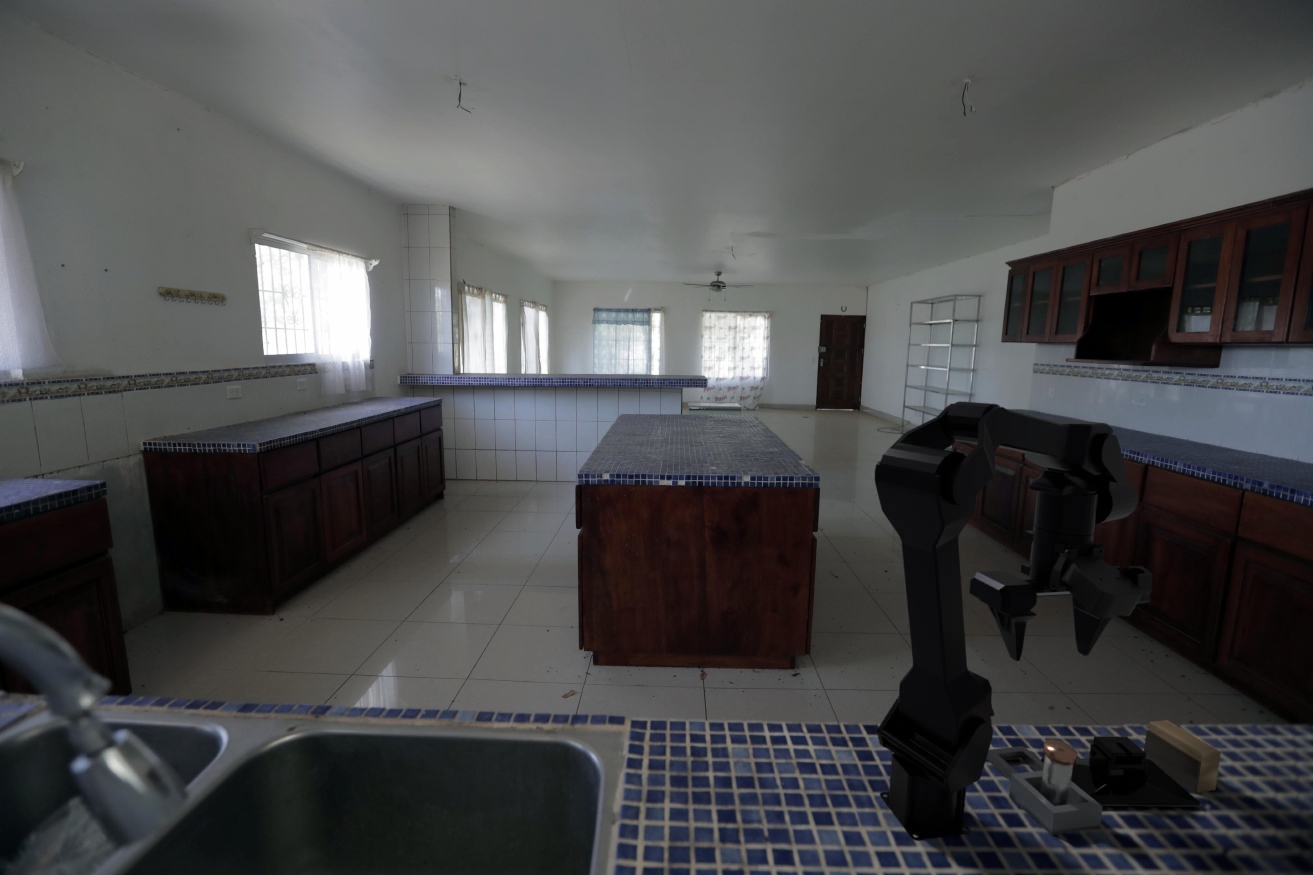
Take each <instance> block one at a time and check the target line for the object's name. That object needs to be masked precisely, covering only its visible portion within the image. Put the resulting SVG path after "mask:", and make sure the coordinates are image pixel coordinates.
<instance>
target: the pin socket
mask: <svg viewBox="0 0 1313 875" xmlns="http://www.w3.org/2000/svg"><path fill="white" fill-rule="evenodd" d="M1013 760H1022V761H1024V762H1025V763H1026V764H1027V765H1028V766H1029V767H1031V769H1033V771H1043V768H1044V763H1043V762H1042V761H1041V759H1039V757H1037V756H1036V755H1035V754H1033V753H1032V752H1031V751H1030V750H1029V749H1028V748H1026V747H1025V746H1023V745H1022V746H1021V745H1020V746H1013V747H1001V748H994V749H989V751H988V754H987V758H986V761H988V762H989V763H990V764H992V765H993V767H994V768H995V769H997V770H998V771H999V772H1000V773H1001V774H1002V775H1003V776H1004V777H1005V778H1006V779H1007V780H1009V782H1011V774H1017V773H1019V772H1018V771H1017V770H1016V769H1015V768H1013V766H1011V765H1010V764H1009V762H1007V761H1013Z"/></svg>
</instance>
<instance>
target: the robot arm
mask: <svg viewBox="0 0 1313 875" xmlns="http://www.w3.org/2000/svg"><path fill="white" fill-rule="evenodd" d="M956 442H960V443H966V444H967V443H968V444H974V445H975V444H976V445H975V446H974V448H973V449H972V450H971V451H970V452H969V453H968V454H967V455H965V454H964V453H963V452H959V451H954V450H948V449H947V448H950V447H952V446H953V445H954V444H955V443H956ZM998 448H999V449H1004V450H1010V451H1014V452H1018V453H1021V454H1024V458H1025V459H1026V460H1028V461H1029V462H1031V463H1033V464H1035V465H1036V466H1038V467H1042V468H1043V469H1044V471H1043V472H1042V474H1040V475H1039V476H1038V477H1037V478H1035V479H1033V481H1031V483H1030V484H1029V486H1028V489H1029V491H1032V492H1036V500H1035V501H1036V502H1035V511H1034V520H1033V529H1032V530H1024V534H1023V540H1025V541H1028V542H1030V543H1031V548H1030V549H1031V550H1030V557H1029V563H1021V565H1020V573H1021V574H1023V575H1027V576H1028V579H1021V578H1020V577H1017V576H1015V575H1013V574H1011V573H1009V572H1007V571H1005V570H991V571H990V570H989V571H988V570H987V571H977V572H975V573H974V574H973V575H971V576H970V581H969V591H968V593H969V594H970V595H971V596H974V597H975V598H977V599H978V601H980V602H982V603H984V604H985V605H987V607H988V609H989V612H990V613H991V615H992V617H993V619H994V620H995V624H996V625H997V627H998V630H999V633H1000V636H1001V637H1002V640H1003V643H1004V645H1005V647H1006V650H1007V653H1008V654H1009V655H1008V656H1009V657H1010V658H1011V659H1012V660H1013V661H1015V662H1020V661H1021V657H1022V654H1023V650H1024V649H1023V648H1024V642H1025V635H1026V630H1027V629H1026V628H1027V623H1028V622H1029V621H1030V620H1032V619H1033V618H1035V617H1036V616H1037V615H1038V614H1037V613H1036V612H1034V611H1032V610H1033V608H1034V607H1035V606H1036V605H1037V603H1038V602H1037V600H1038V597H1054V596H1055V597H1056V596H1071V597H1072V598H1071V600H1072V607H1073V608H1072V609H1073V610H1072V612H1073V621H1074V624H1073V626H1074V639H1075V643H1076V648H1077V652H1078V654H1080V655H1082V656H1085V657H1087V656H1089V654H1090V653H1091V652H1092V650H1093V648H1094V647H1095V644H1096V643H1097V641H1098V640H1099V639H1100V637H1101V635H1102V633H1103V631H1104V630H1105V629H1106V628H1107V626H1108V624H1109V623H1110V621H1112V619H1113V618H1114V617H1116V616H1122V617H1130V616H1131V614H1132V613H1133V611H1134V610H1135V608H1136V606H1138V605H1145V604H1146V603H1150V602H1151V599H1152V598H1151V594H1152V591H1153V573H1152V572H1151V571H1149V570H1148V569H1146V568H1145V567H1144V566H1142V565H1133V566H1132V565H1131V566H1126V567H1124V568H1122V567H1121V566H1120V565H1112V564H1109V563H1107V562H1106V561H1105V558H1104V555H1105V554H1104V552H1105V549H1104V548H1103V543H1100V542H1098V541H1094V535H1095V534H1094V533H1095V527H1096V526H1095V525H1097V524H1102V523H1105V522H1106V523H1107V522H1111V521H1112V522H1113V521H1115V520H1120V519H1124V518H1127V517H1129V516H1130V515H1131V514H1133V513H1134V512H1135V510H1136V508H1137V506H1138V503H1139V495H1138V492H1137V490H1136V487H1135V486H1134V484H1133V483H1132V482H1131V481H1130V480H1129V475H1128V472H1127V467H1126V464H1125V460H1124V457H1123V453H1122V450H1121V446H1120V443H1119V439H1118V437H1117V436H1116V434H1114V429H1113V428H1112V426H1110V424H1108V423H1106V422H1094V421H1086V420H1085V421H1083V420H1074V419H1073V420H1071V419H1062V418H1061V419H1060V418H1051V417H1049V418H1047V417H1046V418H1045V417H1044V418H1040V417H1037V416H1032V415H1029V414H1026V413H1021V412H1018V411H1014V410H1009V409H1007V408H1005V407H1003V406H1000V405H999V404H997V403H990V402H989V403H988V402H975V401H961V400H960V401H956V402H955V403H950V404H949V405H947V406H946V407H945V408H944V409H943V410H942V411H941V412H940V413H939V414H938V415H937V416H936V417H934V418H932V419H930V420H928V421H925V422H923V423H922V424H920V425H918V426H916V427H913V428H911V429H910V430H908V431H906V432H904V433H903V434H902V435H901V436H900V437H899V438H898V439H897V440H896V441H895V442H894V443H893V444H892V445H891V446H890V447H888V448H887V450H886V452H884V453H883V454H882V455H881V456H880V458H879V459H878V461H877V463H876V465H875V467H874V468H875V469H874V483H875V488H876V489H875V490H876V492H877V497H878V500H879V503H880V508H881V511H882V513H883V514H884V516H885V517H886V519H887V520H888V521H889V523H890V525H891V527H892V528H893V529H894V531H896V534H897V535H898V537H899V538H900V541H901V552H902V553H901V554H902V561H903V573H904V585H905V594H906V595H905V596H906V606H907V616H908V618H907V619H908V626H909V636H910V647H911V648H910V649H911V659H912V660H911V661H912V664H911V665H912V666H911V667H910V669H909V670H908V671H907V672H906V674H905V675H904V676H903V678H902V679H901V680H900V682H899V684H898V685H899V686H898V696H897V698H896V700H895V701H894V702H893V704H892V706H891V707H890V708H889V710H888V712H887V714H886V715H885V716H884V718H883V719H882V721H881V723H880V725H879V726H878V728H877V730H876V733H877V738H878V743H879V745H880V746H881V747H883V749H884V748H886V749H887V750H888V751H890V752H891V763H890V775H889V776H890V777H889V788H888V791H882V792H880V793H879V796H880V798H881V799H882V801H883V803H885V805H886V806H887V807H888V809H889V810H890V812H891V813H892V814H893V816H894V817H895V818H896V820H898V822H899V824H901V826H902V828H903V829H904V831H906V833H907V834H908V836H910V838H911V839H912V840H914V841H923V840H932V839H938V838H939V839H941V838H946V837H954V836H962V835H963V836H964V835H969V834H971V833H972V830H971V828H970V827H969V826H968V824H966V822H965V821H964V820H963V819H962V818H961V817H964V815H965V806H966V797H967V796H966V795H967V787H969V786H970V785H972V784H975V783H976V782H978V781H979V780H980V779H981V778H982V774H983V771H984V767H985V763H986V761H987V759H986V758H987V754H988V751H989V750H990V748H991V745H992V741H993V738H994V737H993V736H994V731H993V730H994V728H993V726H992V725H993V724H992V722H993V721H992V717H993V718H994V716H995V711H994V709H993V704H992V694H993V688H992V685H991V682H990V681H989V679H987V678H986V677H984V676H981V675H980V674H977V673H975V672H974V671H971V670H969V668H968V664H967V650H966V649H967V647H966V635H965V633H966V632H965V621H964V620H965V619H964V607H963V606H964V605H963V591H962V589H963V588H962V576H961V562H960V548H959V544H960V543H959V536H960V534H961V532H962V531H964V528H965V527H966V525H967V524H968V523H969V521H970V520H971V519H972V518H973V516H974V514H975V512H976V503H977V496H978V495H979V493H980V492H981V491H982V490H983V488H984V487H985V486H986V485H987V484H988V483H989V482H990V480H991V479H993V477H994V476H995V473H996V466H995V465H996V463H995V461H996V460H995V459H996V458H995V457H996V456H995V452H996V450H997V449H998ZM1121 568H1122V569H1121ZM884 795H885V796H884ZM965 829H967V830H965ZM914 835H915V836H917V837H915V836H914Z"/></svg>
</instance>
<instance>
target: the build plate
mask: <svg viewBox="0 0 1313 875" xmlns="http://www.w3.org/2000/svg"><path fill="white" fill-rule="evenodd" d="M1040 760H1041V761H1042V762H1043V763H1044V761H1045V757H1042V758H1040ZM1071 781H1072V782H1073V783H1074V784H1076V785H1077V786H1078V787H1079V788H1080V789H1082V790H1083V791H1084V792H1085V793H1087V794H1088V795H1089V796H1090V797H1091V798H1093V799H1094V800H1095V801H1096V802H1098V803H1099V804H1100V805H1101V806H1102V807H1104V806H1105V807H1107V806H1109V807H1111V806H1112V807H1113V806H1115V807H1117V806H1118V807H1120V806H1121V807H1125V806H1126V807H1127V806H1128V807H1201V802H1200V801H1199V800H1198V799H1197V798H1196V797H1195V796H1194V795H1193V794H1191V793H1190V792H1188V791H1189V790H1188V791H1187V789H1186V788H1185V787H1183V786H1182V785H1180V784H1178V783H1177V782H1176V781H1175V780H1174V779H1172V778H1171V777H1170V776H1169V775H1168V774H1167V773H1165V772H1164V771H1163V770H1162V769H1161V768H1160V767H1158V766H1157V765H1156V764H1155V763H1154V762H1153V761H1151V760H1150V759H1146V753H1145V752H1144V749H1142V748H1141V747H1139V745H1137V744H1136V743H1135V742H1134V741H1132V740H1131V739H1130V738H1129V737H1128V736H1121V735H1120V736H1119V735H1118V736H1113V735H1112V736H1110V735H1109V736H1106V735H1104V736H1102V735H1101V736H1100V735H1099V736H1098V735H1097V736H1096V735H1095V736H1093V743H1090V748H1089V756H1088V757H1087V758H1085V757H1084V758H1082V757H1081V758H1078V757H1077V759H1076V763H1075V764H1074V765H1073V769H1072V777H1071Z"/></svg>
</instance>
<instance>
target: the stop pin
mask: <svg viewBox="0 0 1313 875" xmlns="http://www.w3.org/2000/svg"><path fill="white" fill-rule="evenodd" d="M1043 743H1044V744H1043V749H1042V750H1043V754H1044V758H1045V761H1044V768H1043V776H1042V783H1041V791H1040V794H1041V795H1042V796H1044V797H1045V798H1046V799H1047V800H1048V801H1049V802H1050V803H1051V804H1053V805H1054V806H1060V805H1068V798H1069V791H1070V784H1071V777H1072V769H1073V765H1074V764H1075V763H1076V759H1077V758H1078V757H1077V756H1078V752H1077V750H1076V749H1075V748H1074V746H1071V745H1070V744H1068V743H1067V742H1065V741H1062V740H1059V739H1053V738H1050V739H1045V741H1044V742H1043Z"/></svg>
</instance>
